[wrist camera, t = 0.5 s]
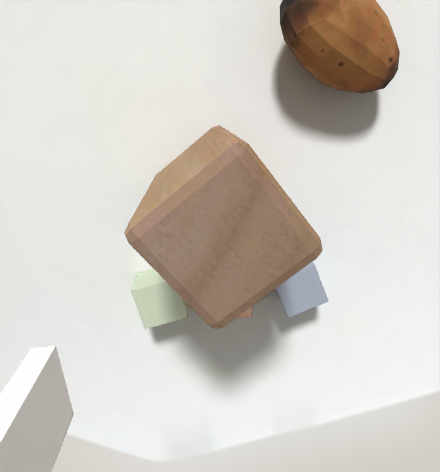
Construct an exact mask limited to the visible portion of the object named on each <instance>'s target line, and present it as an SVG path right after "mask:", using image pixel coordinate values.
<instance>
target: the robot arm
mask: <svg viewBox="0 0 440 472" xmlns="http://www.w3.org/2000/svg"><path fill="white" fill-rule="evenodd" d="M72 417H73V410H72V406H71V402H70V399H69V395H68V391H67V387H66V383H65V379H64V376H63V372H62V368H61V364H60V360H59V357H58V353H57V349H56V346H48V347H39V348H31V349H30V351H29V352H28V354H27V355H26V357H25V358H24V360H23V361H22V363H21V364H20V366H19V367H18V369H17V370H16V372H15V373H14V375H13V376H12V378H11V379H10V381H9V382H8V384H7V385H6V387H5V388H4V390H3V391H2V393H1V394H0V472H52V469H53V466H54V464H55V461H56V459H57V456H58V453H59V451H60V448H61V446H62V443H63V440H64V438H65V435H66V433H67V430H68V427H69V425H70V422H71V420H72Z"/></svg>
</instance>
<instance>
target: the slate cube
mask: <svg viewBox="0 0 440 472" xmlns="http://www.w3.org/2000/svg"><path fill="white" fill-rule="evenodd" d="M276 292H277V294H278V296H279V299H280V301H281V303H282V305H283V307H284V310H285V312H286V314H287V316H288V318H290V317H292V316H295V315H297V314H299V313H302V312H304V311H307V310H309V309H311V308H314V307H316V306H319V305H321V304H323V303H326V302H328V299H327V296H326V293H325V291H324V288H323V286H322V283H321V280H320V278H319V275H318V273H317V270H316V267H315V265H314V264H313V262H311V263H310V264H308V265H307V266H306V267H304V268H303V269H301V270H300V271H299V272H297V273H296V274H295V275H293V276H292V277H291V278H289V279H288V280H287V281H285V282H284V283H282V284H281V285H280V286H278V287H277V288H276Z"/></svg>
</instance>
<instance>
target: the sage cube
mask: <svg viewBox="0 0 440 472" xmlns="http://www.w3.org/2000/svg"><path fill="white" fill-rule="evenodd" d="M131 292H132V295H133V297H134V300H135V303H136V306H137V308H138V311H139V314H140V317H141V320H142V322H143V325H144V328H145V329H147V328H151V327H155V326H159V325H163V324H167V323H171V322H175V321H179V320H183V319H187V316H188V304H187V303H186V301H185V300H184V299H183V298H182V297H181V296H180V295H179V294H178V293H177V292H176V291H175V290H174V289H173V288H172V287H171V286H170V285H169V284H168V283H167V282H166V281H165V280H164V279H163V278H162V277H161V276H160V275H159V274H158V273H157V272H156V271H155V270H154V268H153V269H149V270H145V271H142V272H138V273H137V275H136V278H135V281H134V284H133V287H132V290H131Z"/></svg>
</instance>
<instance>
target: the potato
mask: <svg viewBox="0 0 440 472" xmlns="http://www.w3.org/2000/svg"><path fill="white" fill-rule="evenodd" d="M280 25H281V29H282V33H283V37H284V40H285V42H286V43H287V45H288V46H289V48H290V49H291V51H292V52H293V54H294V55H295V56H296V58H297V59H298V61H299V62H300V64H301V65H302V66H303V68H305V69H306V70H307V71H308V72H309V73H310V74H312V75H313V76H314V77H315V78H316V79H318V80H319V81H320V82H321V83H323V84H326V85H328V86H330V87H333V88H335V89H337V90H342V91H350V92H357V93H366V92H370V91H375V90H379V89H383V88H385V87H386V86H387V85H388V83H389V82H390V81H391V80H392V79H393V78H394V76H395V74H396V72H397V70H398V63H399V48H398V45H397V41H396V38H395V35H394V33H393V30H392V27H391V25H390V22H389V19H388V17H387V15H386V14H385V13H384V11H383V10H382V9H381V7H380V6H379V4H378V3H377V2H376V0H283V1H282V3H281V5H280Z"/></svg>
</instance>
